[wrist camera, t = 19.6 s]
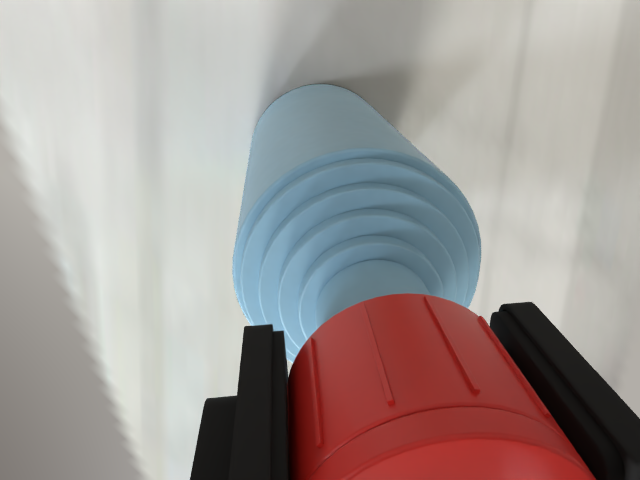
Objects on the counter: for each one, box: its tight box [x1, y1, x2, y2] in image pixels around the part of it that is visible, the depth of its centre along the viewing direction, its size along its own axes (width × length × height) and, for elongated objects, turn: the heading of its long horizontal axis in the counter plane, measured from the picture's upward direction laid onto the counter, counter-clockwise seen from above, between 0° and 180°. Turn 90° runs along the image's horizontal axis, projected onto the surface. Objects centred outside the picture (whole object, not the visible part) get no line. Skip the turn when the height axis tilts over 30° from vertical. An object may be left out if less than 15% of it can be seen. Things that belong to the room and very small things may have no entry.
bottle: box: [233, 84, 481, 363], centre depth 18 cm, size 7×7×18 cm
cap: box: [287, 293, 596, 480], centre depth 8 cm, size 4×4×3 cm
